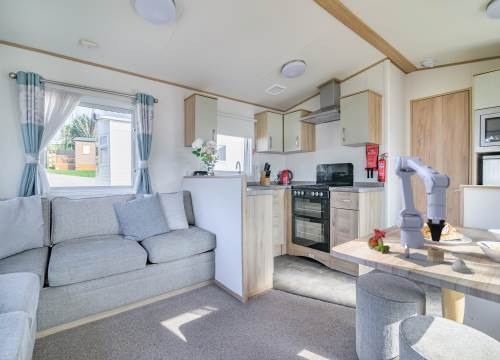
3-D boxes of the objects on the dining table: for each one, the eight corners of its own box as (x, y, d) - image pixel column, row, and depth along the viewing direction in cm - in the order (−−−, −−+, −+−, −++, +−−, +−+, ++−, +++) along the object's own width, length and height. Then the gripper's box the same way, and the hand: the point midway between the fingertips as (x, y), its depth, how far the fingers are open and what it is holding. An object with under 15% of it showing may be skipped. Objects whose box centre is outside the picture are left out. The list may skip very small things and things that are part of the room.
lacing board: (416, 254, 105) (416, 252, 105) (449, 265, 93) (450, 262, 93) (392, 258, 101) (392, 255, 101) (424, 269, 88) (424, 267, 88)
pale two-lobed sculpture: (466, 281, 82) (448, 272, 86) (468, 274, 88) (451, 266, 91) (471, 270, 81) (453, 261, 84) (474, 263, 86) (456, 256, 90)
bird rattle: (368, 257, 108) (388, 254, 102) (359, 232, 112) (377, 228, 105) (375, 254, 112) (394, 251, 105) (366, 231, 116) (384, 226, 109)
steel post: (406, 256, 100) (406, 242, 99) (410, 258, 98) (410, 243, 98) (403, 257, 99) (403, 243, 99) (407, 258, 98) (407, 244, 97)
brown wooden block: (433, 258, 98) (433, 247, 98) (446, 262, 93) (447, 250, 93) (424, 259, 96) (424, 248, 96) (437, 264, 92) (438, 252, 91)
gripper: (424, 202, 102) (424, 234, 103) (422, 205, 91) (422, 241, 91) (446, 203, 98) (445, 236, 98) (446, 207, 87) (446, 244, 87)
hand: (435, 239), depth 95 cm, fingers open, 7 cm apart
